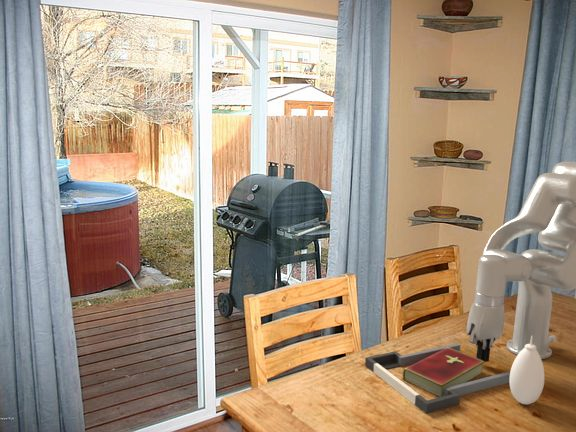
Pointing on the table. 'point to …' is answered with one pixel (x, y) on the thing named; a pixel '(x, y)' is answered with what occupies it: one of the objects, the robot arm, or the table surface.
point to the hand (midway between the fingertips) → (482, 359)
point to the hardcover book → (443, 370)
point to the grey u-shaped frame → (449, 399)
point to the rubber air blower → (527, 375)
